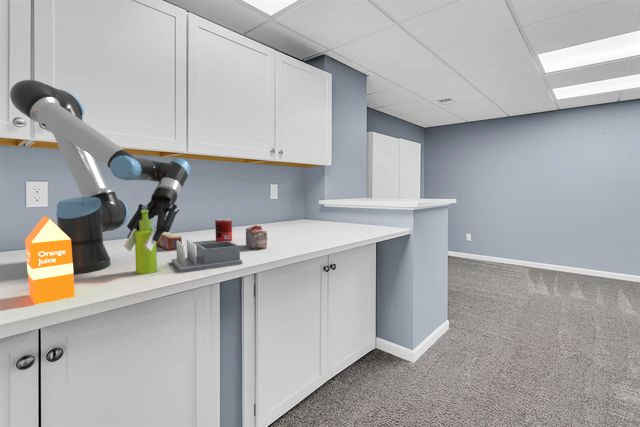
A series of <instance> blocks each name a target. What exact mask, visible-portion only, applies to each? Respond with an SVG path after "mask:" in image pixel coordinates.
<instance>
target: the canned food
mask: <svg viewBox="0 0 640 427" xmlns="http://www.w3.org/2000/svg"><path fill="white" fill-rule="evenodd" d="M214 223H215V242H223V241H230V242H232V241H233V222H232V218H230V217H229V218H228V217H226V218H225V217H222V218H221V217H219V218H215V221H214Z"/></svg>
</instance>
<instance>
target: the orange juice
mask: <svg viewBox="0 0 640 427" xmlns="http://www.w3.org/2000/svg"><path fill="white" fill-rule="evenodd" d="M24 242H25V253H26V268H27V276H28V277H27V278H28V290H29V291H28V292H29V297H30V299H31V301H32V300H33V301H32V303H33V304H34V305H35V304H38V305H40V304H39V303H43V304H45V303H44V302H47V303H51V302H50V301H52V302H56V301H55V300H57V301H61V300H60V299H62V300H65V299H64V298H66V299H70V297H71V298H75V297H76V296H75V294H76V293H75V280H74V279H75V278H74V274H73V262H72V248H71V239H70V238H69V237H68V236H67V235H66V234H65V233H64V232H63V231H62V230H61V229H60V228H59V227H58V224H57V223H55V222H54V221H52V219H50V218H49V217H47V216H44V215H43V217H42V218H41V219H40V221H39V222H38V223H37V224H36V225H35V227H34V228H33V229H32V231H31V232H30V233H29V234H28V235H27V237H26V238H25V239H24ZM74 296H75V297H74Z"/></svg>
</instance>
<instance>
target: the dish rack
mask: <svg viewBox="0 0 640 427" xmlns="http://www.w3.org/2000/svg"><path fill="white" fill-rule="evenodd" d="M185 247H186V248H185ZM240 248H241V247H240V245H238V244H237V243H235V242H232V241H223V242H216V241H214V242H205V243H194V242H192V241H191V240H190V239H187V240H186V246H185V244H183V243H182V244H181V242H179V241H176V249H177V250H176V258H172V259H171V264H172V265H173V266H174V267H175V269H176V270H177V271H178V272H179V273H180V274H182V273H183V274H184V273H191V272H198V271H204V270H210V269H218V268H224V267H232V266H239V265H243V260H242V259H241V257H240V256H241V252H240V250H241V249H240ZM186 255H187V256H186Z"/></svg>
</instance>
